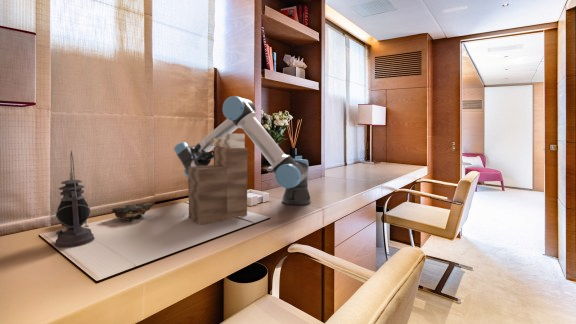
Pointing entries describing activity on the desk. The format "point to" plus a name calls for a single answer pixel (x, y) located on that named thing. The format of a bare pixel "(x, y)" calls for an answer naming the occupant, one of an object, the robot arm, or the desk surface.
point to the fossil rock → (132, 211)
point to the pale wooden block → (229, 141)
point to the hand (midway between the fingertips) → (218, 142)
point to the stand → (219, 187)
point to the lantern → (73, 214)
